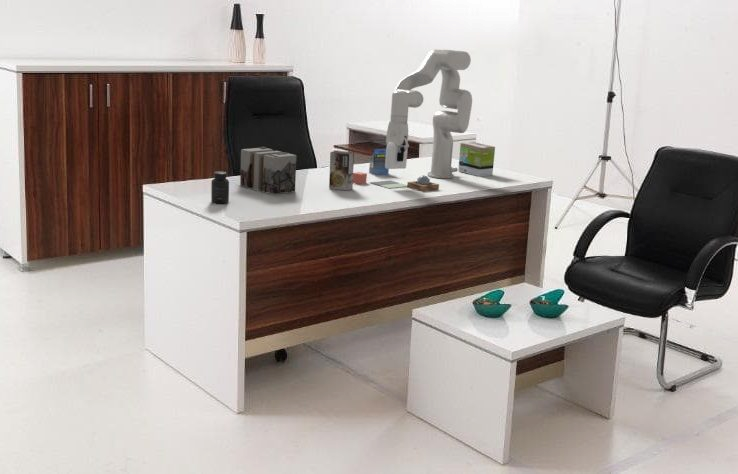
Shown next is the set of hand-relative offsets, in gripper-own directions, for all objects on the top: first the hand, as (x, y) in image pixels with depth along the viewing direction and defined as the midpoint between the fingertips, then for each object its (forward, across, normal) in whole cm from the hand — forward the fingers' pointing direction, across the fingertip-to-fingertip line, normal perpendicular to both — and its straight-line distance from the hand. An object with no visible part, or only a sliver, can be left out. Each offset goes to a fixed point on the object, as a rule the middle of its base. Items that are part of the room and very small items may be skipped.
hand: (396, 159), depth 405 cm
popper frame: (+12, +9, +9) cm, 18 cm away
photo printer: (+4, 0, 0) cm, 4 cm away
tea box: (+12, -9, +61) cm, 63 cm away
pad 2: (+12, 0, 0) cm, 12 cm away
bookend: (+13, -19, -56) cm, 60 cm away
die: (+12, -13, -10) cm, 20 cm away
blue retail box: (+12, -28, +14) cm, 34 cm away
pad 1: (+12, -7, 0) cm, 14 cm away
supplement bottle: (+13, -3, -88) cm, 89 cm away
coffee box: (+13, -6, -26) cm, 29 cm away
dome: (+11, +9, +9) cm, 17 cm away
